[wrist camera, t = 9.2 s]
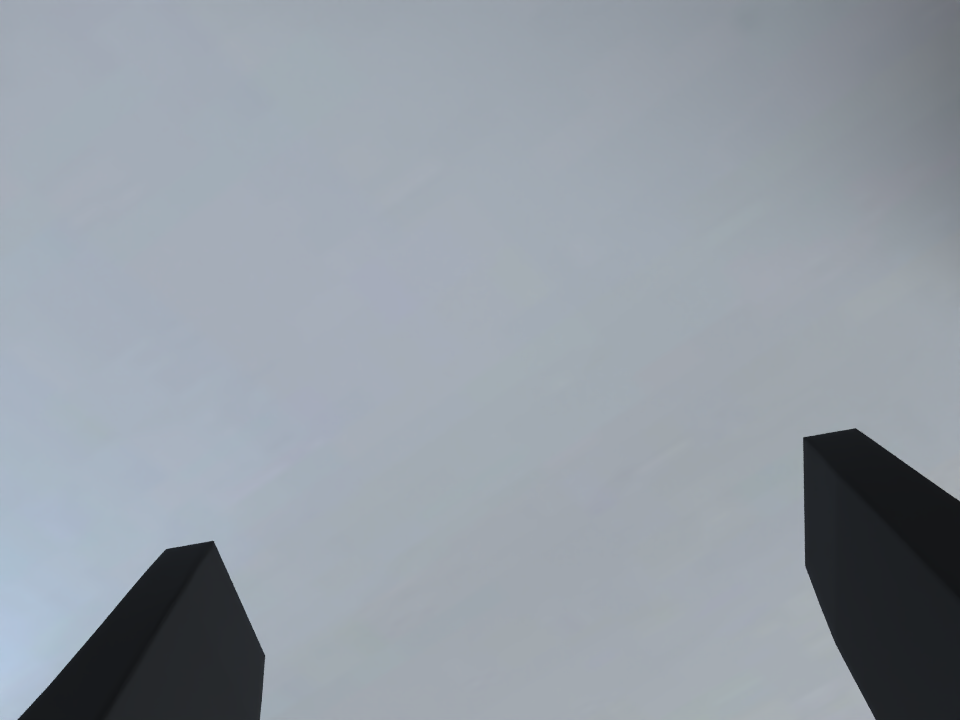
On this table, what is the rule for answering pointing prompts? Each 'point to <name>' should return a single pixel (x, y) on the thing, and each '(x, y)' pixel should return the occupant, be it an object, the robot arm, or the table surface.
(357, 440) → the table surface
